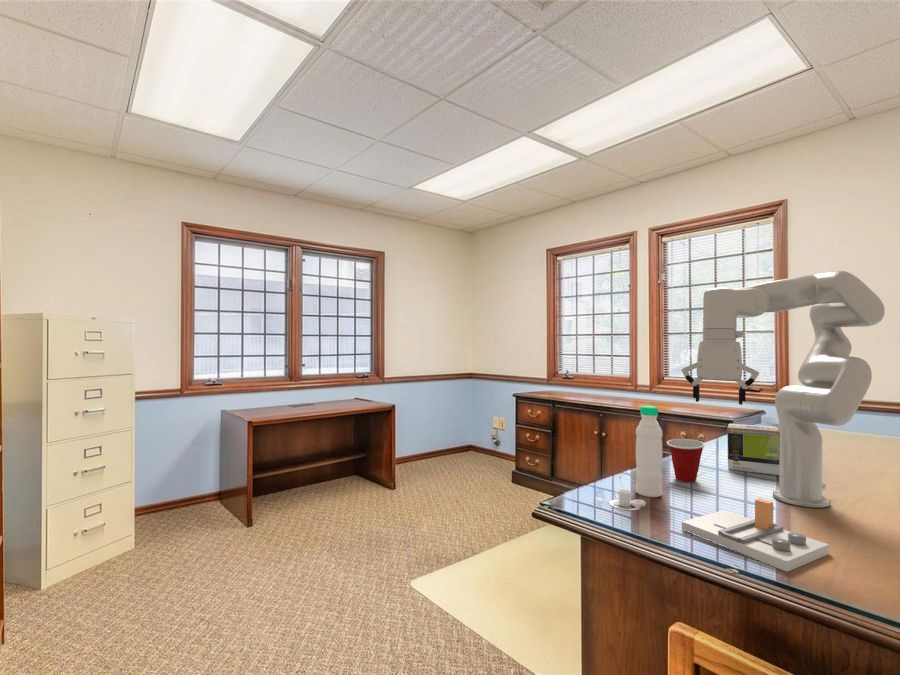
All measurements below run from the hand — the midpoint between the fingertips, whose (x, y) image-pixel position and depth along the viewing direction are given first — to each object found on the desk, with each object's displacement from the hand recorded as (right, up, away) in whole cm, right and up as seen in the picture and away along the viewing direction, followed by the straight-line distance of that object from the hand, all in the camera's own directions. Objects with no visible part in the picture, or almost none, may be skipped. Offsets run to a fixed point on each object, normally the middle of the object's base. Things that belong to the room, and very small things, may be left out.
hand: (718, 402), depth 121 cm
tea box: (+35, -29, +40) cm, 60 cm away
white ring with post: (-22, -29, +1) cm, 36 cm away
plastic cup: (+5, -28, +27) cm, 40 cm away
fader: (+1, -26, -16) cm, 30 cm away
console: (-3, -28, -18) cm, 33 cm away
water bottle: (-12, -28, +13) cm, 34 cm away
